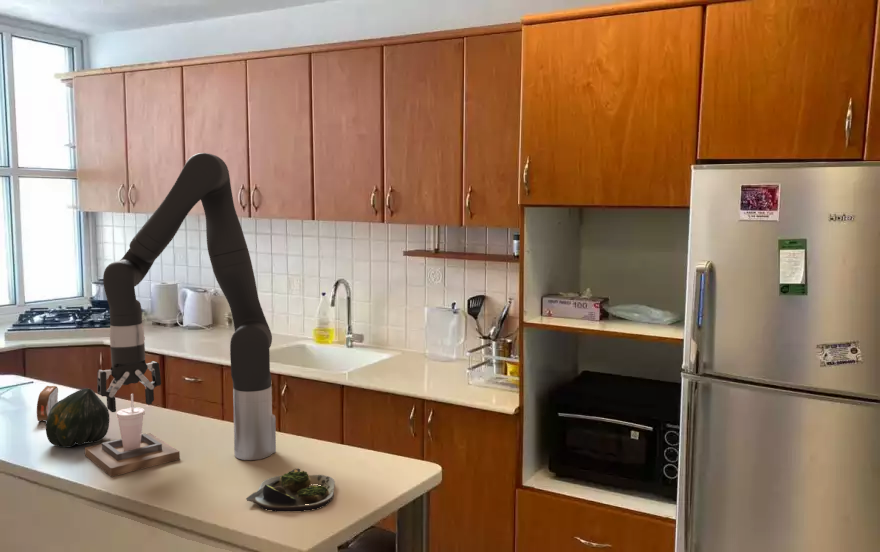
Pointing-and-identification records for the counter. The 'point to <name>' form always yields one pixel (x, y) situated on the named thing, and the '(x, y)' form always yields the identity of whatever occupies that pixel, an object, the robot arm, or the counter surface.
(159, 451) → the base board
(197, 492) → the counter surface
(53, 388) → the tin
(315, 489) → the salad plate
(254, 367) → the robot arm
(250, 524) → the counter surface
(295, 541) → the counter surface
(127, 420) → the smoothie
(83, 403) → the squash
